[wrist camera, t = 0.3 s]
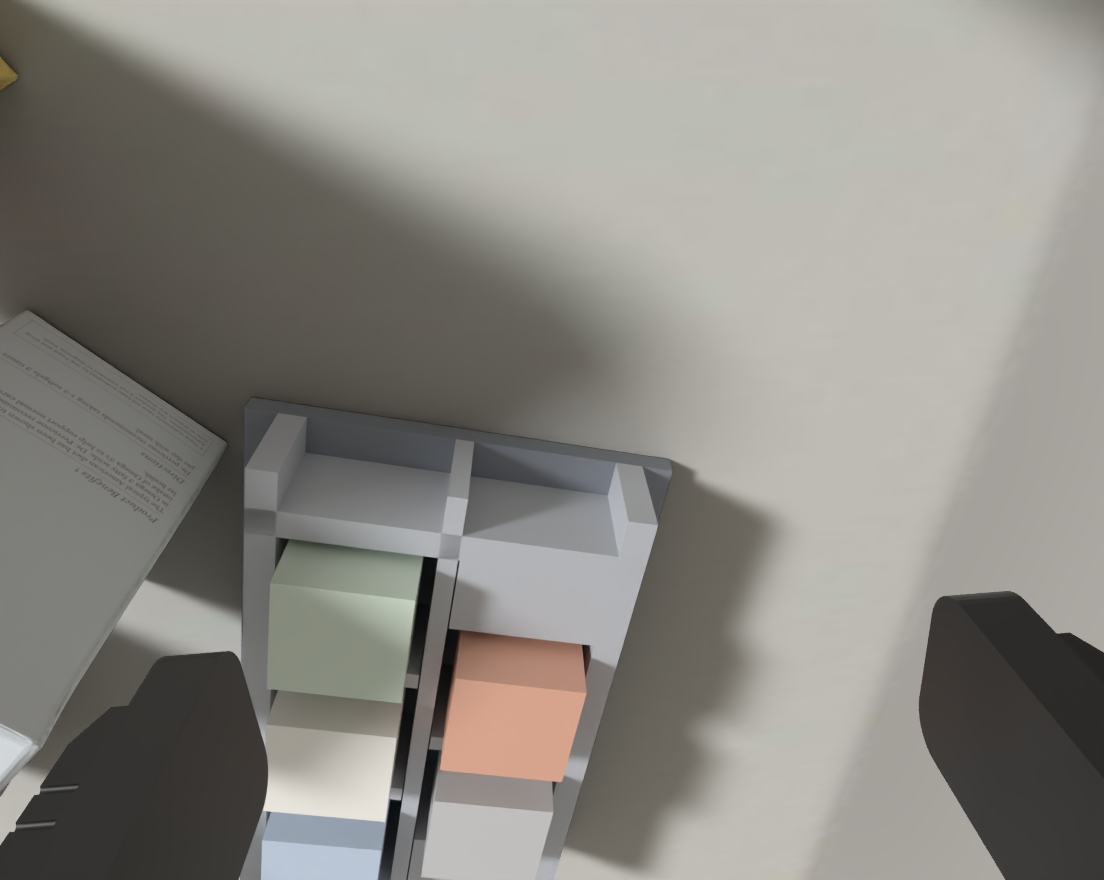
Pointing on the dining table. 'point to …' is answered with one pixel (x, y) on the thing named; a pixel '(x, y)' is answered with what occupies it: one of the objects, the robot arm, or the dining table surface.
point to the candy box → (6, 74)
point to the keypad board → (452, 566)
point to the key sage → (342, 621)
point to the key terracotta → (512, 706)
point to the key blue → (322, 848)
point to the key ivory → (331, 755)
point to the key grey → (485, 826)
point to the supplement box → (77, 515)
